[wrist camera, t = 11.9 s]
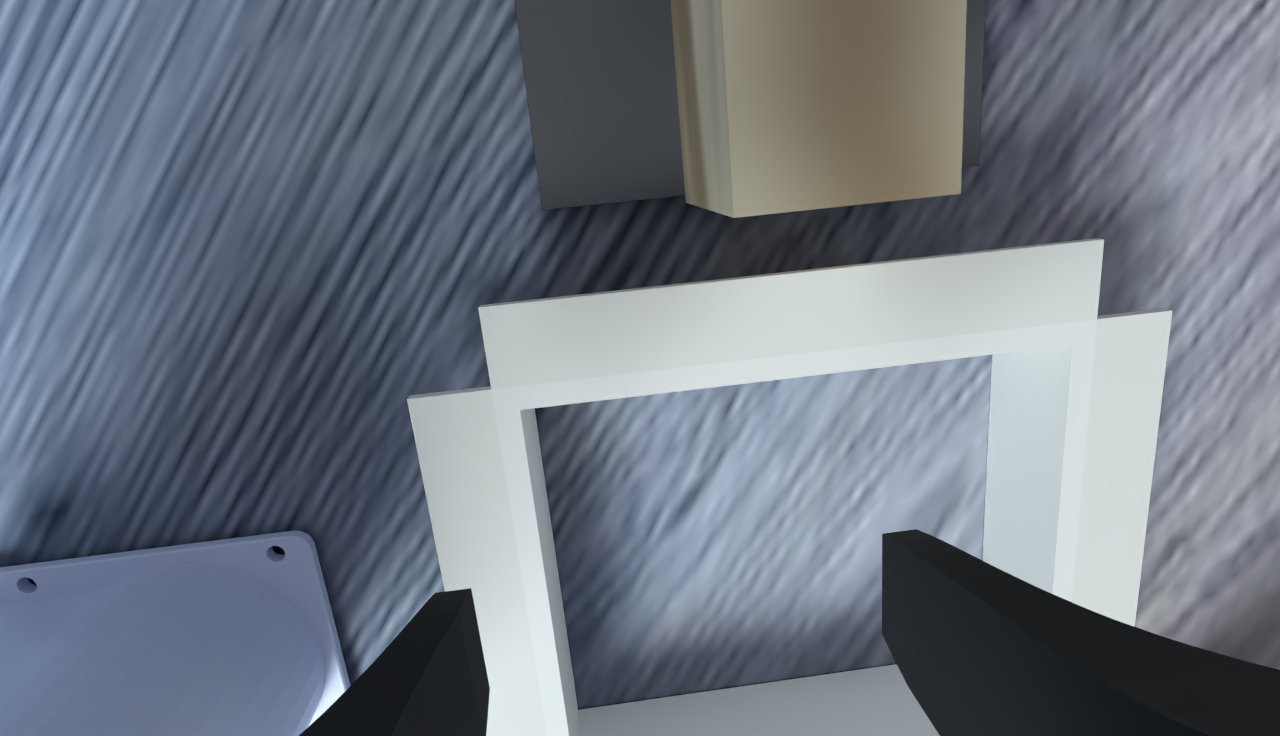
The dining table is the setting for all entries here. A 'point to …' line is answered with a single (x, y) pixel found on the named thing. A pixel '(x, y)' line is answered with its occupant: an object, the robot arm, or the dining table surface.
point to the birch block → (818, 102)
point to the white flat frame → (788, 348)
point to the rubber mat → (635, 98)
